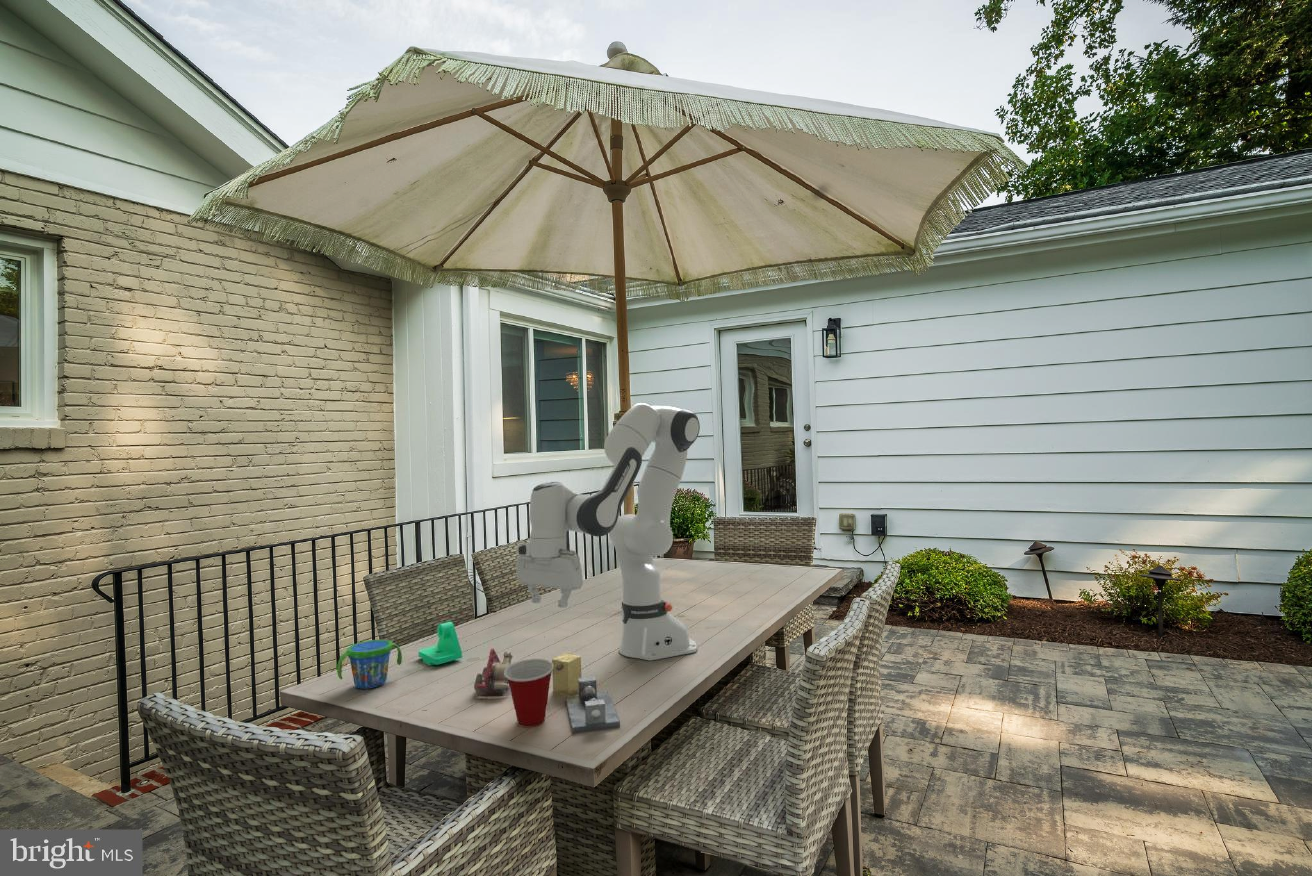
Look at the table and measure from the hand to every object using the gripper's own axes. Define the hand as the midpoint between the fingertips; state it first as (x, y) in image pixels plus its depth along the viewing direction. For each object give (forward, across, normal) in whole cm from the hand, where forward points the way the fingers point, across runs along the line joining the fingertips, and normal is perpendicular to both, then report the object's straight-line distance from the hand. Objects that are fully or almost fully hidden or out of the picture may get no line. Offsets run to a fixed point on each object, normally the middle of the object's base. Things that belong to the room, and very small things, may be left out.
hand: (549, 604), depth 156 cm
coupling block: (+21, -3, -3) cm, 21 cm away
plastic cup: (+22, -9, +14) cm, 27 cm away
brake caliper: (+22, +13, +7) cm, 26 cm away
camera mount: (+21, +45, +1) cm, 50 cm away
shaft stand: (+21, -17, +4) cm, 28 cm away
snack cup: (+22, +44, +22) cm, 54 cm away
